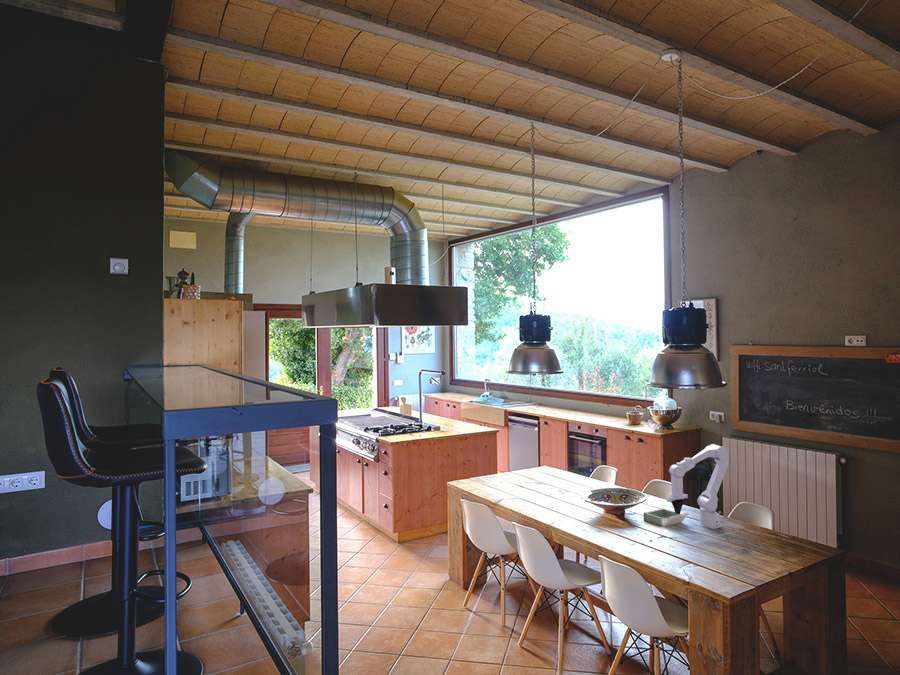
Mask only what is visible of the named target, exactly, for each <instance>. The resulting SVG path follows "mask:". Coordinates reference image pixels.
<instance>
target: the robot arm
mask: <svg viewBox="0 0 900 675" xmlns="http://www.w3.org/2000/svg"><path fill="white" fill-rule="evenodd" d="M729 455H730V453H729V450H728V449H727V447H725V446H721V445H718V444H716V443H711V444H709V445H707V446H705V448H704V449H702V450H701V451H699V452H698V453H697V454H696V455H694V456H693V457H684V458H683V459H682V460H681V461H680V462H676V464H672V465H671V466H670V467H669V469H668V473H669V474H670V483H671V484H670V485H671V488H670V489H671V491H670V492H671V494H669V496H668V497H666V502H668V503H671V504H672V506H673V507H672V508H673V509H674V512H675V513H676V514H681V511H682V508H683V505H684V504H685V500H684V499H688V498H689V497H688V496H689V495H688V494H686V493H684V484H683V483H684V481H683V478H684V476H685V475H686V474H685V473H687V472H689V471H690V470H691V469H693V468H695V467H696V464H698V463H699V462H701V461H703V460H705V459H707V458H713V459H714V462H715V467H714V469H713V471H712V474H711V477H710V479H709V481H708V484H707V487H706V489H705V490H704V491H702V492H701V494H700V495H699V496H698V498H697V500H696V501H697V504H698V506H699V513H700V514H699V517H700V518H699V520H700V521H699V522H700V526H701V527H704V528H709V529H711V530H715V529H718V528H721V526H722V525H721V524H722V523H721V515H720V513H719V512H717V511H716V510H717V508H718V501H719V498H718V492H719V489H720V486H721V484H722V482H723V480H724V476H725V474H726V471H727V470H728V468H729V467H728V466H729V464H730V463H729Z"/></svg>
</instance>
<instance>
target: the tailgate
mask: <svg viewBox="0 0 900 675" xmlns="http://www.w3.org/2000/svg"><path fill="white" fill-rule="evenodd" d="M689 515H690V514H689V513H688V512H684V513H680V514H679V515H675V516H671V517H669V518H668V520H667V521H666V522H665V523H664V524H663V525H662V526H661V527H664V528H665V527H669V526H672V525H673V526H674V525H676V524H681V523H682V522H683V521H684V520H685V519H686V518H687V517H688V516H689Z"/></svg>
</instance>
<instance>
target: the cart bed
mask: <svg viewBox="0 0 900 675" xmlns="http://www.w3.org/2000/svg"><path fill="white" fill-rule="evenodd" d="M675 515H679V514H676V513H675V511H673V510H670V509H666V508H660V509H654V510H651V511H646V512H643V522H646V523H649V524H652V525H655V526H658V527H663V526H662V525H663V524H664V523H665V522H666V521H667V520H668V518H669V517H671V516H675Z"/></svg>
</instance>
